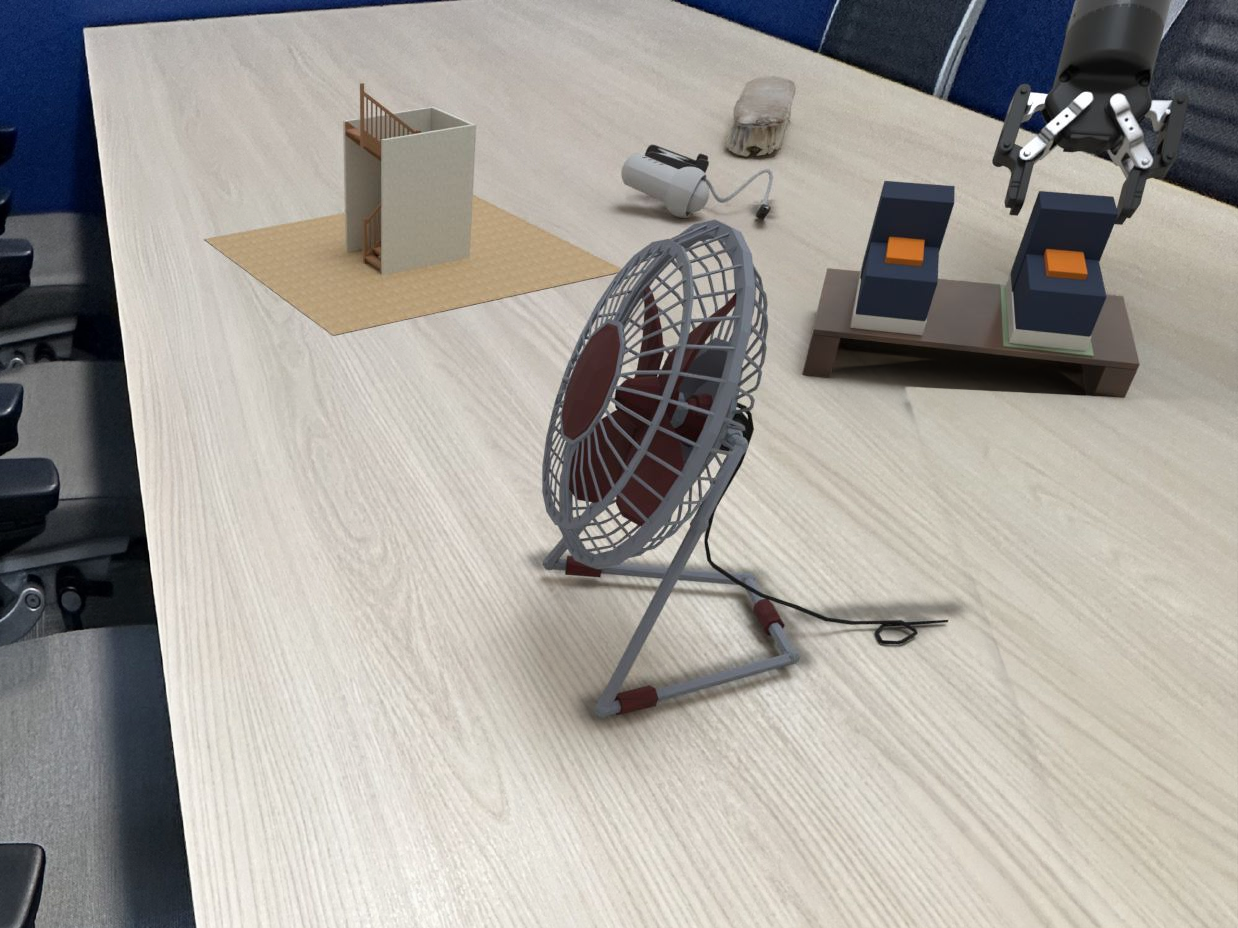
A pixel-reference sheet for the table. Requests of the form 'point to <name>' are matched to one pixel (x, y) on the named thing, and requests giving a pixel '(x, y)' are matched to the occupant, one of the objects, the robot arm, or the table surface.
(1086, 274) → the trainer
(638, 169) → the clip-on lamp
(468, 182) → the staircase
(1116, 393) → the shoe rack
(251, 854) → the table surface
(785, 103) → the shoe brush
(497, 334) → the table surface
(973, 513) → the table surface
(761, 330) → the desk fan
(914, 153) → the table surface
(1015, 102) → the robot arm
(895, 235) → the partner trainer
